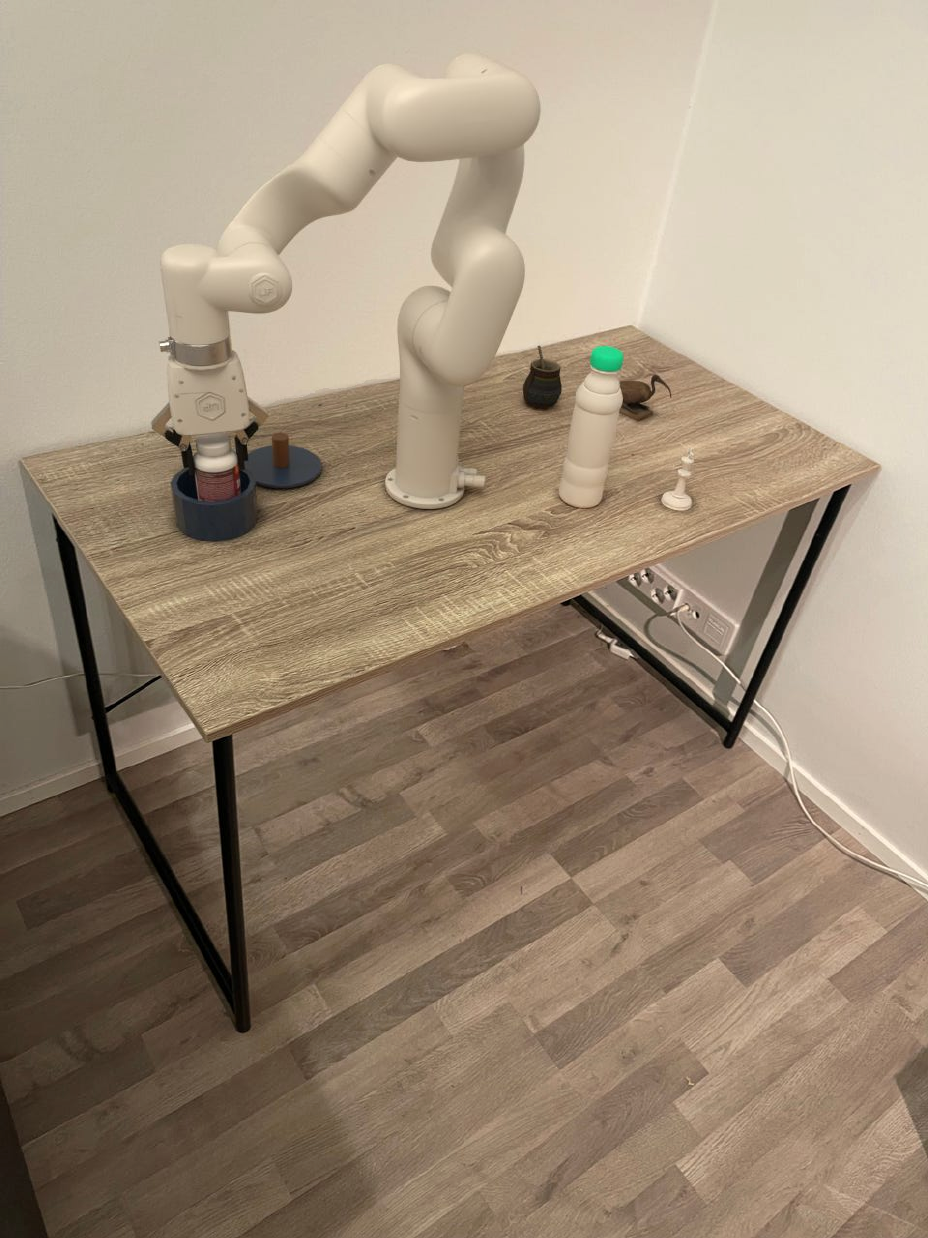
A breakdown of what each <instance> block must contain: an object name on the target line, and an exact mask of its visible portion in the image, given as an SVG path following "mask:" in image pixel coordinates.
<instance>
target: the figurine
mask: <svg viewBox="0 0 928 1238" xmlns="http://www.w3.org/2000/svg"><path fill="white" fill-rule="evenodd" d="M619 383H620V389H621V392H622V396H623V402H622V406H621V408H620V409H619V413H621V414H624V415H626V416H627V417H630V418H632V419H634V420H636V421H638V422H640V421H642V420H644V419H647V418H648V417H651V416H653V414H654V410H652V409H651V408H650V407H649V406H647V405H645V404H642V403H646V402H648V401H649V400H650V399H651V398H652V397H653V396H654V395H655V393H656V385H655V383H659V384H661V385H662V386H664V387H665V388H666V389H667V391H668V392H669V398H670V399H672V392H671V389H670V386H669V385H668V384H667V383H666V381H664V380H663V378H661V376H660V375H658V374H653V375H652V377H651V379H650V385H649V384H648V383H646V382H643V381H640V380H638V381H637V380H619ZM650 386H651V387H650Z"/></svg>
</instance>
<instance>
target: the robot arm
mask: <svg viewBox="0 0 928 1238" xmlns="http://www.w3.org/2000/svg"><path fill="white" fill-rule="evenodd" d="M541 111H542V109H541V100H540V96H539V93H538V90H537V89H536V87H535V85H534V84H533V83H532V81H531V80H530V79H529V78H528V77H527V76H526V75H525V74H523V73H521V72H520V71H518V70H516V69H514V68H512V67H510V66H507V65H506V64H504V63H502V62H500V61H499V60H496V59H494V58H492V57H490V56H488V55H485V54H481V53H477V52H467V53H466V52H465V53H462V54H460V55H458V56H457V57H455V58H454V59H452V60H451V61H450V63H449V64H448V65H447V67H446V70H445V72H444V73H443V77H442V78H426V77H423V76H421V75H420V74H417V73H416V72H414V71H412V70H411V69H409V68H407V67H405V66H401V65H399V64H395V63H383V64H380V65H377V66H375V67H374V68H372V69H371V70H370V71H368V73H367V74H366V75H364V77H363V78H362V79H361V81H360V82H358V84H357V85H356V87H355V88H354V89H353V90H352V92H351V93H350V94H349V95H348V97H347V98H346V99H345V100H344V101H343V103H342V104H341V106H340V107H339V108H338V110H336V112H335V113H334V115H332V117H331V119H330V120H329V121H328V122H327V124H326V125H325V126H324V127H323V129H322V130H321V131H320V132H319V133H318V135H317V136H316V137H315V138H314V140H313V141H312V142H311V144H310V145H309V146H308V147H307V149H305V151H304V152H303V153H302V154H301V156H300V157H299V158H297V159H296V160H295V161H294V162H292V163H291V164H289V165H287V166H286V167H285V168H283V169H282V170H281V171H280V172H279V173H276V174H275V176H273V177H272V178H270V179H269V180H268V181H266V182H265V183H263V185H261V186H260V188H258V189H257V190H256V191H255V192H254V193H253V194H252V196H250V198H248V200H247V201H246V202H245V203H244V205H243V206H242V207H241V209H240V210H239V211H238V212H237V214H236V215H235V216H234V218H233V219H232V220H231V221H230V223H229V224H228V225H227V227H226V228H225V230H224V231H223V233H222V235H221V237H220V238H219V240H218V243H217V246H216V249H215V248H213V247H211V246H209V245H205V244H200V243H182V244H177V245H173V246H171V247H168V248H167V249H166V250H164V251H163V252H162V254H161V256H160V261H159V266H160V267H159V268H160V275H161V276H160V277H161V282H162V289H163V297H164V303H165V311H166V318H167V323H168V333H169V336H167V339H164V340H159V341H158V343H159V350H160V353H169V356H168V357H167V395H168V402H167V404H166V405H164V407H163V408H162V409H161V410H160V411H159V412H158V413H157V414H156V416H155V417H154V418H153V419H152V420H151V421H150V425H151V429H152V430H153V431H154V432H156V433H157V434H158V435H160V436H162V437H164V438H165V439H166V440H167V441H168V442H170V443H171V444H173V445H174V446H175V447H177V448H178V449H179V451H180V455H181V456H180V457H181V462H182V467H183V468H189V472H190V476H194V474H195V468H194V460H193V456H194V453H193V449H192V445H191V440H192V437H194V436H199V435H206V434H216V433H225V434H226V433H231V432H234V435H235V436H234V437H233V438H234V439H233V440H234V447H235V448H234V449H235V452H236V454H237V457H238V466H239V469H241V470H245V464H244V461H248V453H249V451H248V449H249V448H248V444H249V443H250V439H251V438H252V437H253V436H254V435H255V434H256V433H257V432H258V431H259V428H261V426H263V424H264V423H265V422H266V421H267V420H268V419H269V416H270V415H269V413H268V411H267V409H266V408H264V407H263V406H261V404H259V403H258V402H256V401H255V400H253V399H252V398H251V397H249V396H248V392H247V385H246V379H245V374H244V370H243V365H242V362H241V359H240V357H239V355H238V353H237V352H236V351H235V350H233V345H232V335H231V334H232V333H231V324H230V323H231V322H230V315H229V314H230V313H229V312H233V313H242V314H243V313H244V314H253V315H254V314H257V315H259V314H260V315H262V314H270V313H273V312H276V311H278V310H280V309H281V308H283V307H284V306H285V305H286V304H287V303H288V301H289V300H290V298H291V295H292V292H293V280H292V276H291V273H290V271H289V269H288V267H287V265H286V264H285V262H284V261H283V260H282V258H281V257H280V255H281V253H283V251H284V250H285V248H286V247H287V246H288V245H289V244H290V242H291V241H292V240H293V239H294V238H295V237H296V236H297V235H298V234H299V233H300V232H301V231H303V229H305V228H306V227H307V226H308V225H310V224H311V223H313V222H315V221H317V220H320V219H322V218H327V217H332V216H339V215H343V214H347V213H350V212H352V211H354V210H355V209H357V208H358V206H359V205H360V204H361V203H362V202H363V200H364V199H365V198H366V197H367V195H368V194H369V193H370V191H371V190H372V189H373V188H374V186H375V185H376V184H377V183H378V182H379V180H380V179H381V178H382V176H383V175H384V174H385V173H386V172H387V171H388V169H389V168H390V167H391V166H392V165H393V163H394V162H395V161H396V160H397V159H398V158H399V159H402V160H405V161H408V162H415V163H426V162H427V163H431V162H434V163H435V162H444V161H445V162H446V161H454V160H455V161H456V160H458V165H457V170H456V173H455V178H454V181H453V185H452V188H451V190H450V192H449V195H448V199H447V201H446V204H445V206H444V210H443V212H442V215H441V218H440V221H439V223H438V226H437V229H436V232H435V235H434V238H433V241H432V244H431V248H430V259H431V263H432V265H433V268H434V269H435V271H436V272H437V273H438V275H439V276H440V277H441V278H442V279H443V281H444V282H446V284H448V286H450V287H451V290H449V289H446V288H444V287H441V286H438V285H425V286H421V287H419V288H416V289H414V290H413V291H412V292H411V293H410V294H409V295H408V296H407V297H406V298H405V299H404V301H403V303H402V305H401V307H400V309H399V312H398V317H397V325H396V326H397V329H396V330H397V331H396V333H397V344H398V355H399V357H398V358H399V391H398V393H399V394H398V410H397V429H396V430H397V431H396V432H397V433H396V451H395V452H396V453H395V455H396V456H395V467H394V468H393V469H391V470H390V471H389V472H388V473H387V475H386V477H385V481H384V487H385V490H386V493H387V494H388V495H389V496H390V497H391V498H392V499H393V500H394V501H396V502H397V503H399V504H401V505H404V506H406V507H410V508H415V509H422V510H435V509H442V508H446V507H449V506H452V505H454V504H455V503H457V502H459V501H460V500H461V499H462V497H464V493H465V487H472V488H481V489H484V488H485V482H486V481H485V480H486V476H485V475H483V474H482V475H481V474H478V468H476V467H475V468H474V467H469V468H468V467H463V465H460V457H458V456H459V446H460V437H461V427H462V426H461V423H462V415H463V414H462V413H463V405H464V397H465V396H464V395H465V387H466V386H469V385H471V384H473V383H476V381H478V380H479V379H481V377H482V376H484V374H485V373H486V372H487V371H488V369H489V368H490V367H491V365H492V363H493V361H494V359H495V357H496V355H497V353H498V351H499V349H500V346H501V344H502V342H503V339H504V336H505V334H506V332H507V329H508V327H509V325H510V322H511V320H512V317H513V315H514V312H515V310H516V308H517V305H518V303H519V301H520V297H521V295H522V291H523V289H524V285H525V284H524V283H525V278H526V277H525V275H526V267H525V265H526V264H525V260H524V256H523V253H522V252H521V249H520V248H519V246H518V245H517V243H516V242H515V241H514V240H513V239H512V238H511V237H509V236H508V235H507V230H508V226H509V223H510V221H511V217H512V215H513V212H514V209H515V205H516V203H517V199H518V196H519V193H520V190H521V186H522V183H523V178H524V170H525V144H526V143H527V142H528V141H529V140H531V137H532V136H533V135H534V134H535V131H536V130H537V128H538V125H539V122H540V119H541ZM250 413H251V414H253V416H252V418H251V415H250ZM170 420H171V423H172V426H173V428H172V427H171V426H168V425H167V423H169V421H170ZM183 468H182V469H183Z"/></svg>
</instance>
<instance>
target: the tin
mask: <svg viewBox="0 0 928 1238" xmlns="http://www.w3.org/2000/svg"><path fill="white" fill-rule="evenodd" d="M239 475H240V485H241V494H240V495H238V496H236V497H233V498H230V499H228V500H221V501H200V500H198V495H197V488H196V480H195V474H194V476H190V472H189V468H182V469H180V470H179V471H178V472H176V473H174V474H173V477H172V479H171V481H170V489H171V497H172V504H173V512H174V519H175V524H176V526H177V528H178V530H179V531H180V532H181V533H183V534H184V535H185V536H187V537H189V538H192V539H195V540H198V541H204V542H226V541H231V540H234V539H237V538H240V537H242V536H245V535H246V534H248V533H249V532H250V531H252V530H253V529H254V527H255V526H256V524H257V523H258V517H259V509H258V493H257V484H256V480H255V478H254V476H253V473H252V472H250V471H249V470H247V469H246V468H245V470H241V469H239Z"/></svg>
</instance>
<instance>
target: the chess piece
mask: <svg viewBox="0 0 928 1238" xmlns="http://www.w3.org/2000/svg"><path fill="white" fill-rule="evenodd" d="M693 451H694V448H693V447H689V448H686V449H685V450H684V452H685V453H686V454H687V455H685V456H681V468H679V469H678V470H677V474H678V475H679V477H678V480H677V482H676V485H675V488H674V490H669V491H666V492H664V493H663V495H662V497H661V500H660V501H661V503H662V504H663V506H664V507H666V508H668V509H671V510H672V511H679V512H683V511H687V510H689V509H691V507H692V505H693V500H692V498H691V497H690V496H689V495H688V494H687V493H685V490H686V483H687V478H689V477H691V475H692V472H691V468H692V466H693V464H694V463H695V459H694V457H695V453H693Z"/></svg>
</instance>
